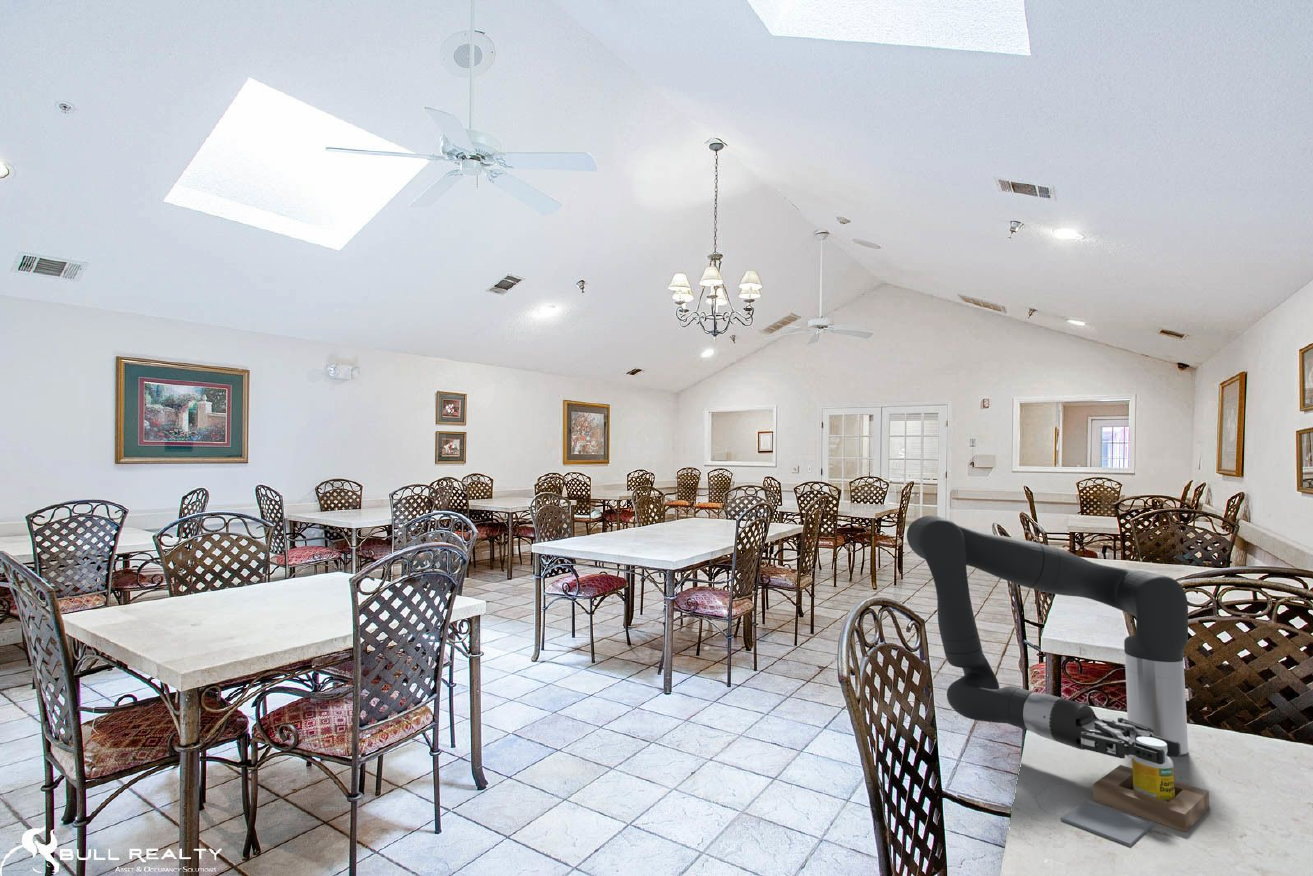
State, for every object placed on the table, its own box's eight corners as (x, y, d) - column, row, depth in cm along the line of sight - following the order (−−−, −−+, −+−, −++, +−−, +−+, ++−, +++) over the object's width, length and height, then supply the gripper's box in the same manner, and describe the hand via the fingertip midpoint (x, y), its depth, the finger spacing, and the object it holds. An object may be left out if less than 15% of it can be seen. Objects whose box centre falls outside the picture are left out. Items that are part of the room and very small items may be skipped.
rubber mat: (1085, 802, 105) (1084, 800, 105) (1152, 826, 98) (1152, 823, 98) (1060, 820, 100) (1060, 817, 100) (1130, 846, 93) (1130, 843, 93)
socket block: (1121, 779, 113) (1120, 764, 113) (1209, 807, 104) (1208, 791, 104) (1093, 800, 106) (1092, 784, 106) (1185, 832, 97) (1184, 814, 97)
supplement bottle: (1144, 791, 108) (1141, 732, 109) (1182, 806, 104) (1179, 743, 104) (1126, 799, 106) (1124, 738, 106) (1164, 814, 101) (1162, 750, 102)
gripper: (1035, 705, 114) (1149, 738, 99) (1078, 691, 121) (1190, 720, 107) (1037, 749, 114) (1151, 789, 99) (1080, 733, 121) (1192, 768, 106)
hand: (1171, 753), depth 103 cm, fingers closed on supplement bottle, 5 cm apart
